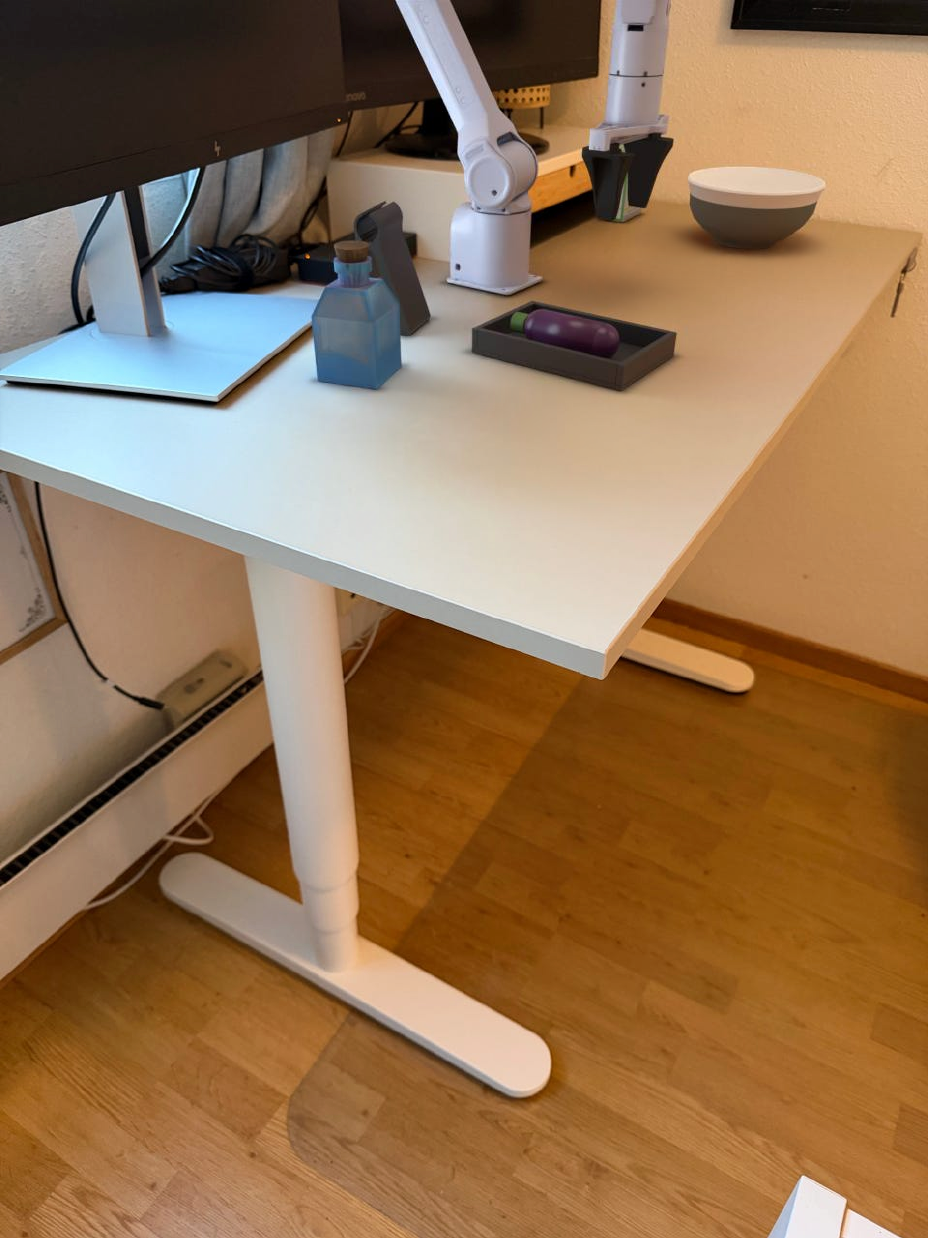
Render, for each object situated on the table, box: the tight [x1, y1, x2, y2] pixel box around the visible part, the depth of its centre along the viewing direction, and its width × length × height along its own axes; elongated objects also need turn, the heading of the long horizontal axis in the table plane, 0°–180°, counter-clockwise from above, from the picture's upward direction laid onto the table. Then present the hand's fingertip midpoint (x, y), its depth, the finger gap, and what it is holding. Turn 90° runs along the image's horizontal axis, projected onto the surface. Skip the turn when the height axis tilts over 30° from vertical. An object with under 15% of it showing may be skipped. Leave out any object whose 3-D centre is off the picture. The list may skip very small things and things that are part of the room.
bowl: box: [687, 166, 827, 250], centre depth 127 cm, size 19×19×8 cm
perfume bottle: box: [311, 240, 403, 390], centre depth 84 cm, size 6×6×12 cm
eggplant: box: [510, 309, 620, 359], centre depth 90 cm, size 12×4×4 cm, turn 54°
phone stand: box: [353, 200, 432, 336], centre depth 96 cm, size 9×6×12 cm, turn 70°
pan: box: [471, 300, 678, 392], centre depth 91 cm, size 17×11×2 cm, turn 54°
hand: (622, 212), depth 102 cm, fingers open, 7 cm apart
